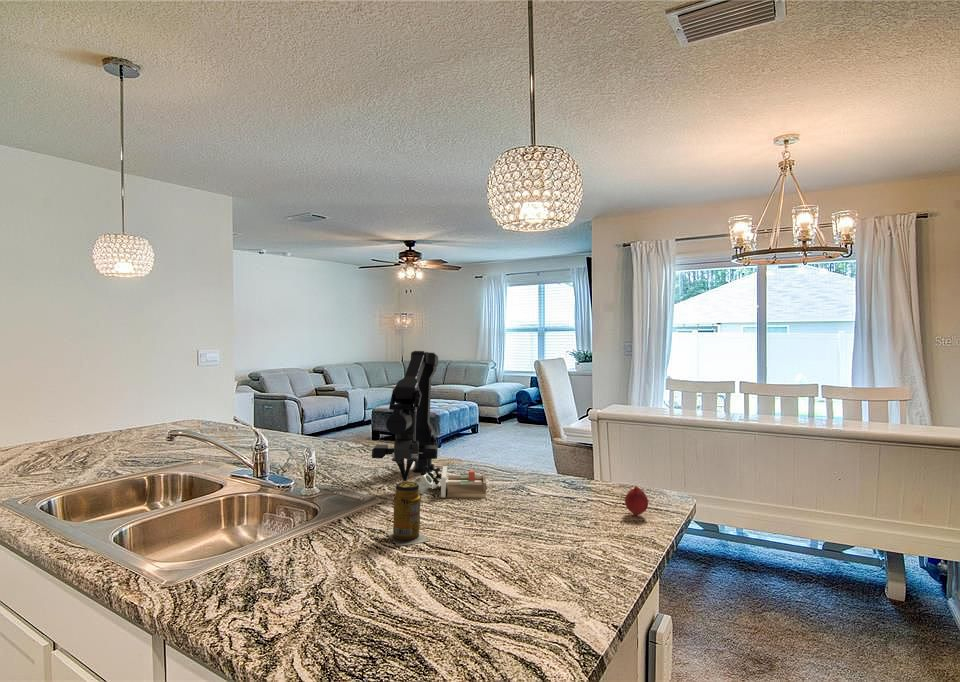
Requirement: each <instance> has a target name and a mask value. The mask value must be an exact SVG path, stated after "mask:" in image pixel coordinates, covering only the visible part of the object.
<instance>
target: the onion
mask: <svg viewBox="0 0 960 682" xmlns="http://www.w3.org/2000/svg"><path fill="white" fill-rule="evenodd" d="M624 504H625V506H626V508H627V509H628V510H629V512H630V513H631V514H632V515H634V516H640V515H641V514H643V513H645V512H646V511H647V510H648V508H649V499H648V497H647V495H646V493H645V491H644V490H642V489H641V488H640V487H639V486H638V484H635V485H634V487H633V489H630V490H629V491H628V492H627V493H626V495H625V498H624Z"/></svg>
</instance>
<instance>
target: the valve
mask: <svg viewBox="0 0 960 682" xmlns="http://www.w3.org/2000/svg"><path fill="white" fill-rule="evenodd" d="M423 469H425V472H424V471H422V472H420V476H421V477H419V478H417V479H415V480H414V481H413V482H415V483H417V484H418V485H419V489H418V490H419V495H421V494H424V493H426V492H427V490H428V489H429V488H430V487H431V486H432V485H433V484H435V486H436V485H439V483H440V480H441V477H442V473H441V474H440V473H439V472H440V471H441V468H440V467H437V468H435V463H434V464H433V463H432V464H431V465H430V468H428V466H424V467H423ZM430 470H432V472H430ZM427 471H428V472H427ZM434 473H435V474H434ZM435 475H436V477H435ZM438 479H439V480H438Z"/></svg>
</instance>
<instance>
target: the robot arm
mask: <svg viewBox="0 0 960 682" xmlns="http://www.w3.org/2000/svg"><path fill="white" fill-rule="evenodd" d="M438 365H439V355H437V354H436V353H435V352H429V351H425V350H414V351H411V353H410V359H409V363H408V366H407V369H406V370H405V371H406V372H405V374H404V377H403V378H402V379H400V380H399V381H397V382H396V385H395V387H394V388H393V389H392V393H391V397H390V401H389V407H388V410H389V411H391V410H393V412H392V414H391V415H390V416H388V418H387V420H386V423H385V425H386V429H387V431H388V432H389V433H390V434H392V435H395V440H394V444H393V447H389V445H388V444H376V445H374V446H373V448H372V450H371V459H383V458H385V456H387V455H388V456H389V455H391V457H392V458H391V461H392V462H395V463H396V465H397V466H398V469H399V471H400V476H401V478H402V480H403V481H402V482H406V481H408V478H409V474H410V471H411V468H412V466H413V463H414V466H413V468H412V472H415V473H417V472H420V473H421V472H422V471H424V472H425V469H423V467H424V466H428V468H430V465H431V464H433V463H432V462H433V460H435V459H436V460H437V459H438V455H439V448H438V447H439V444H438V441H437V440H438V439H437V438H436V435H435V429H434V427H433V425H432V424H431V420H430V419H431V396H432V395H431V394H432V393H431V390H432V379H433V377H434V375H436V372H437V367H438ZM405 460H406V463H405ZM430 472H432V473H433V470H430ZM427 473H428V471H427Z"/></svg>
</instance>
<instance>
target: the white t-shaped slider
mask: <svg viewBox="0 0 960 682" xmlns="http://www.w3.org/2000/svg"><path fill="white" fill-rule="evenodd" d="M475 472H476V471H475V470H471V469H470V470H468V475H469V476H468V480H448V466H447V465H443V466H442V473H441V475H442V477H441V479H440V480H441V481H440V485H441V486H440V498H446V494H447V488H448V481H459V482H461V481H472V482H482V480H475V476H476V473H475Z"/></svg>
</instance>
